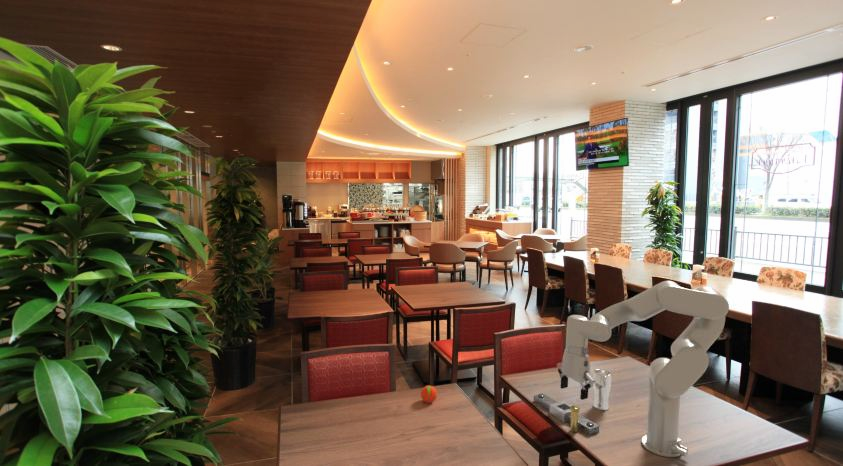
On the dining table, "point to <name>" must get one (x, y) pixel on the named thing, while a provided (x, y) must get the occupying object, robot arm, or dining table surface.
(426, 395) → the red tomato
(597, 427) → the studded connector plate
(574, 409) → the link pin
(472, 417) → the dining table surface
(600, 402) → the metal tumbler
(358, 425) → the dining table surface
